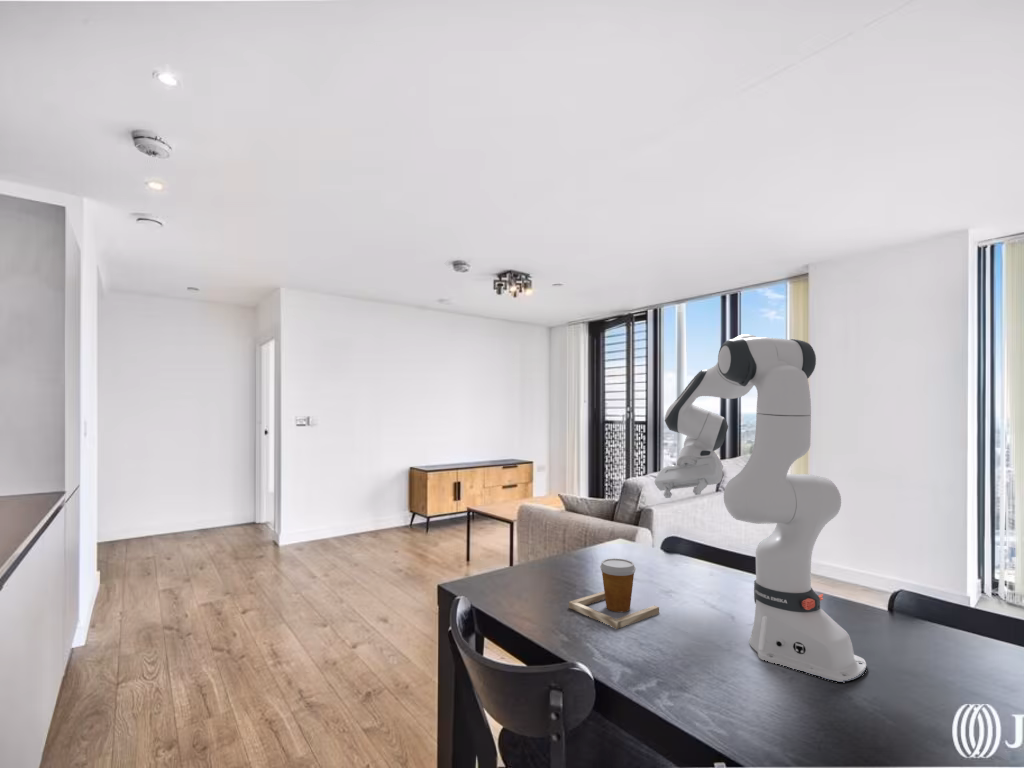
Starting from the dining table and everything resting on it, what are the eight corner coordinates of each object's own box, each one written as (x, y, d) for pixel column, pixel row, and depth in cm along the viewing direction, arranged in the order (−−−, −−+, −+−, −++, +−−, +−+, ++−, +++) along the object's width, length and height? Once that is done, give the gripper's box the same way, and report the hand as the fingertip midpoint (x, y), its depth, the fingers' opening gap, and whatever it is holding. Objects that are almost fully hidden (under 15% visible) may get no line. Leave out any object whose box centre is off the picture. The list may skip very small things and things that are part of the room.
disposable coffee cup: (639, 615, 137) (639, 568, 137) (602, 614, 137) (602, 567, 138) (632, 601, 146) (632, 558, 147) (598, 601, 146) (597, 557, 147)
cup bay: (659, 613, 138) (659, 607, 138) (616, 629, 128) (616, 622, 128) (610, 594, 151) (610, 589, 152) (568, 607, 142) (568, 601, 142)
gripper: (658, 460, 168) (645, 490, 158) (719, 450, 154) (709, 482, 145) (667, 474, 170) (655, 505, 160) (728, 466, 156) (719, 499, 146)
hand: (681, 494), depth 152 cm, fingers open, 8 cm apart
